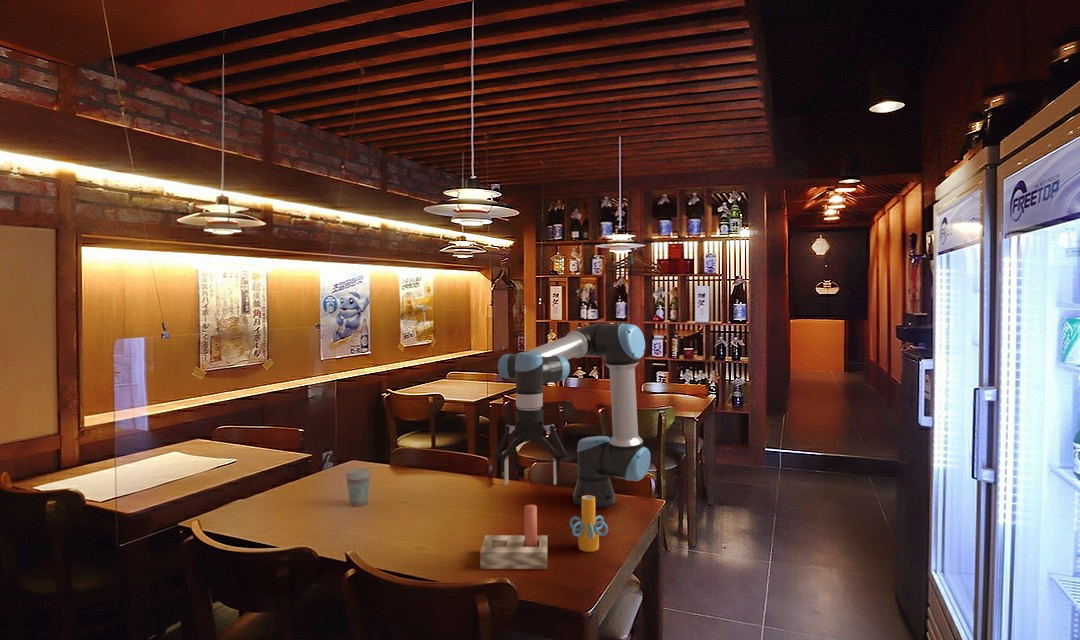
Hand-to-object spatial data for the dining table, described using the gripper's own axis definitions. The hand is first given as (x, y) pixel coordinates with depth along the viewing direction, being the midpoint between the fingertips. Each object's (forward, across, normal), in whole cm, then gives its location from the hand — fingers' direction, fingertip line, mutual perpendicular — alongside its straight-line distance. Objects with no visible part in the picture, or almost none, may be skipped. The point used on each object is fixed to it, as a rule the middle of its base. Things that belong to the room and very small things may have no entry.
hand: (530, 483), depth 170 cm
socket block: (+22, +5, 0) cm, 22 cm away
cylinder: (+22, -16, -8) cm, 28 cm away
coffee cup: (+22, +65, -47) cm, 83 cm away
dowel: (+20, 0, 0) cm, 21 cm away
